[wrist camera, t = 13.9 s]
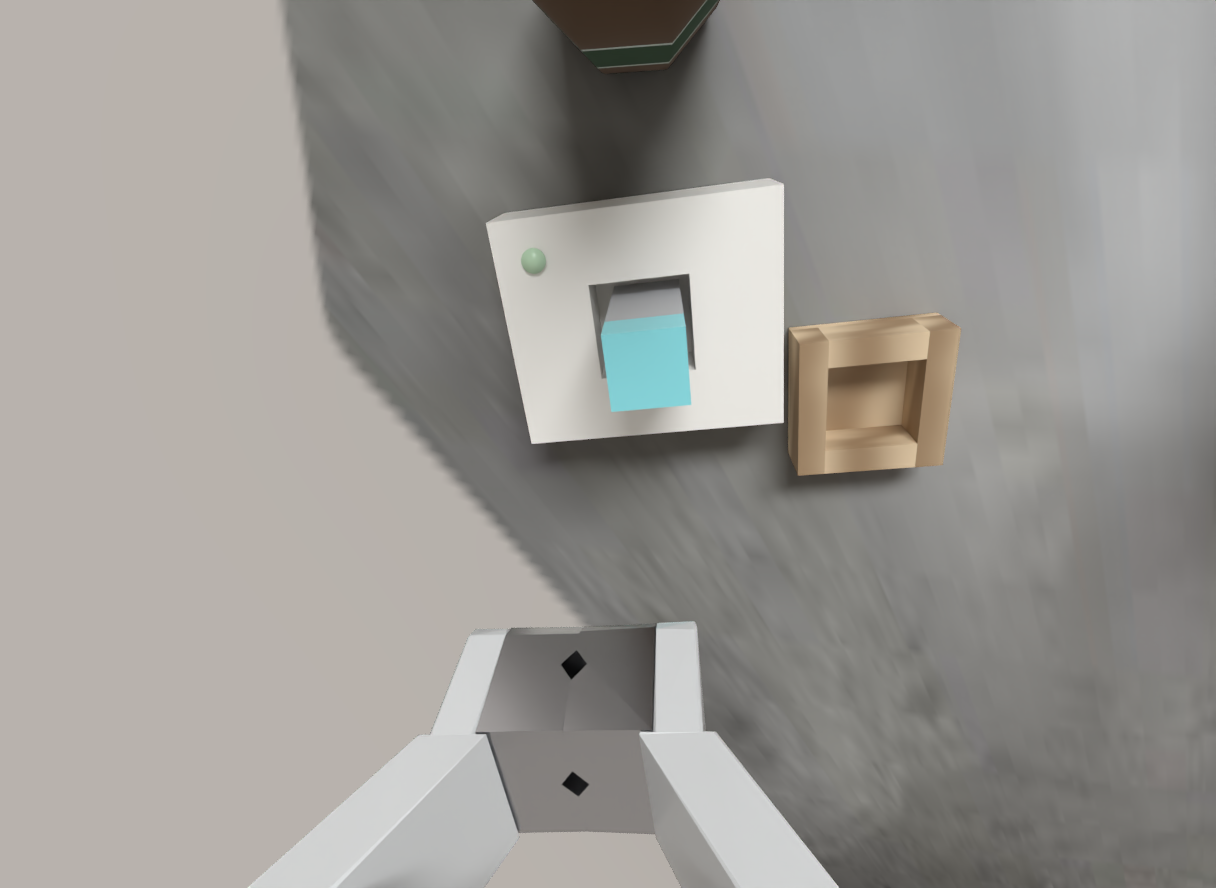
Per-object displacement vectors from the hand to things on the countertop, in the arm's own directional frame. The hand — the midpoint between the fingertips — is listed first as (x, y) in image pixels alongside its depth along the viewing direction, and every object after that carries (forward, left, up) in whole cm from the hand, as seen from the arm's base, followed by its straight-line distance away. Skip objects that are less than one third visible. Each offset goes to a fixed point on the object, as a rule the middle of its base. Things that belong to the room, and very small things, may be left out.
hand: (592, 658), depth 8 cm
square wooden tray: (-12, +9, -28) cm, 32 cm away
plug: (0, +3, -27) cm, 28 cm away
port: (0, +3, -28) cm, 29 cm away
